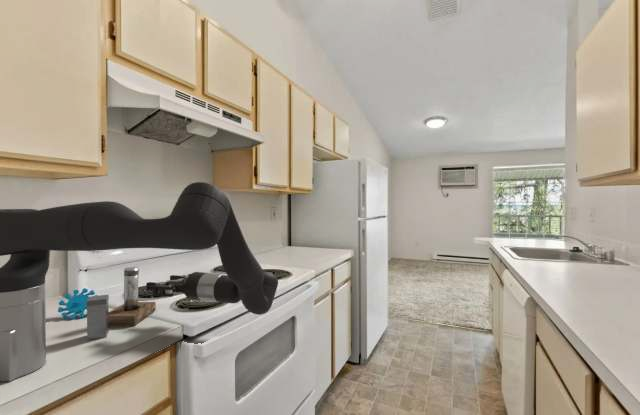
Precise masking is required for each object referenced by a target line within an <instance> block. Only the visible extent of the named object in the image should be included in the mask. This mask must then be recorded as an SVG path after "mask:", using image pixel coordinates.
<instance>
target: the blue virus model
mask: <svg viewBox="0 0 640 415" xmlns="http://www.w3.org/2000/svg"><path fill="white" fill-rule="evenodd" d="M79 292H80V290H79V289H73V291H72V293H73V296H72V297H71V294H70V293H66V294H64V298H65V299H66V300H68V301H67V302H65V300H63V299H61V300H60V301H59V302H58V305H59V307H58V308H57V312H58V313H61V316H62V318H63V319H65V318H66V317H68V319H70V320H71V321H72V320H75V319H76V316H77V315H78V318H79V319H82V318H84V317H85V314H84V312H85V310H87V300H88V299H89V297H90V296H99V295H98V294H96V293H95V290H93V289H91V290H88V288H85V287H84V288H82V290H81V292H80V293H79ZM87 292H88V293H87ZM61 306H65V307H61ZM65 311H67V312H65Z"/></svg>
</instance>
